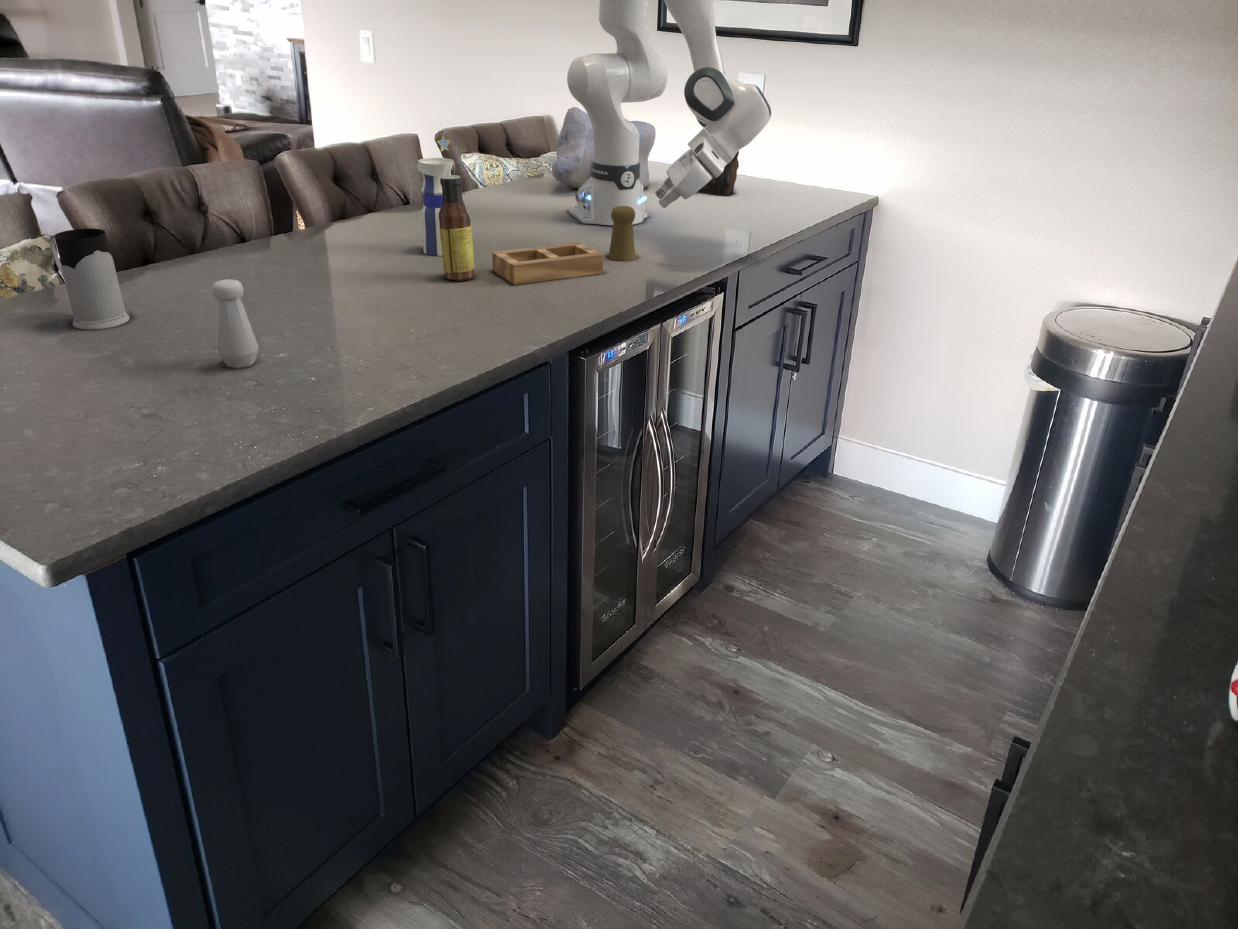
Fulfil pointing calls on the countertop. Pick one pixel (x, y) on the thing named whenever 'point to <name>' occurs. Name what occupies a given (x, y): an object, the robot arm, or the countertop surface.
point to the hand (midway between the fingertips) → (659, 200)
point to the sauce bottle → (455, 231)
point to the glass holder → (89, 278)
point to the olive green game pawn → (622, 234)
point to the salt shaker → (234, 326)
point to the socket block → (547, 263)
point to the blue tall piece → (433, 197)
